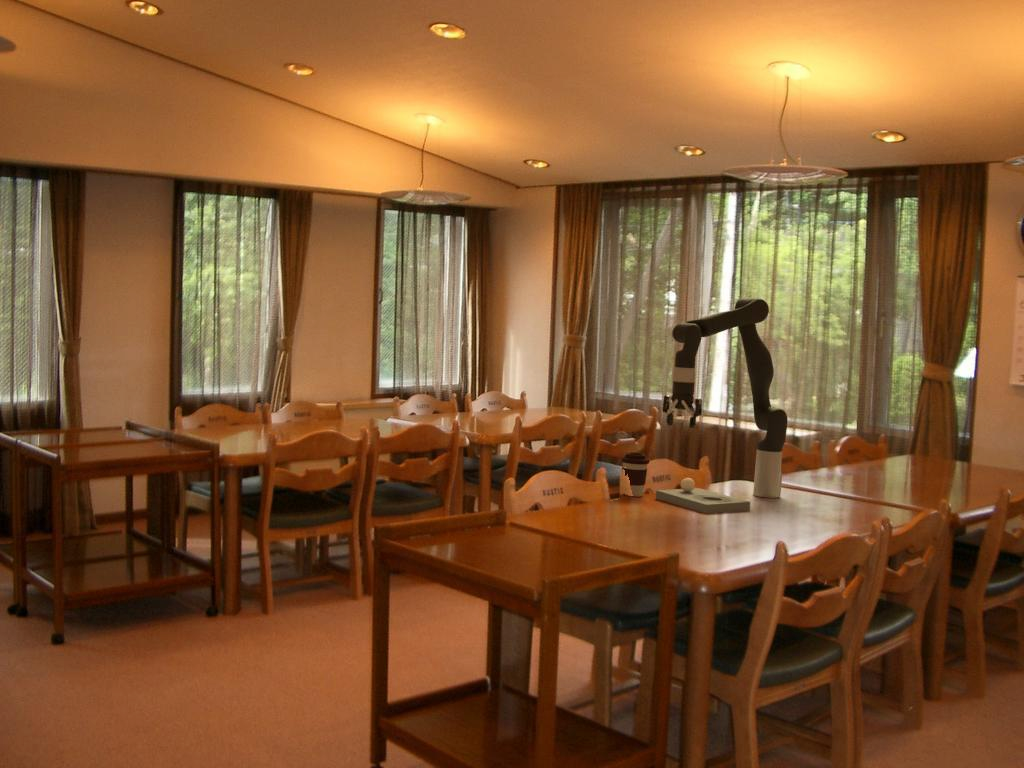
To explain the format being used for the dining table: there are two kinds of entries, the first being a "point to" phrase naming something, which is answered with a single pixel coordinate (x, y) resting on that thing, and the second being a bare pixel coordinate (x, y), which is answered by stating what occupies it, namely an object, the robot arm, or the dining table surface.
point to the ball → (687, 484)
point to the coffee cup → (636, 471)
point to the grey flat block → (703, 500)
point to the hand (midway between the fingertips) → (680, 426)
